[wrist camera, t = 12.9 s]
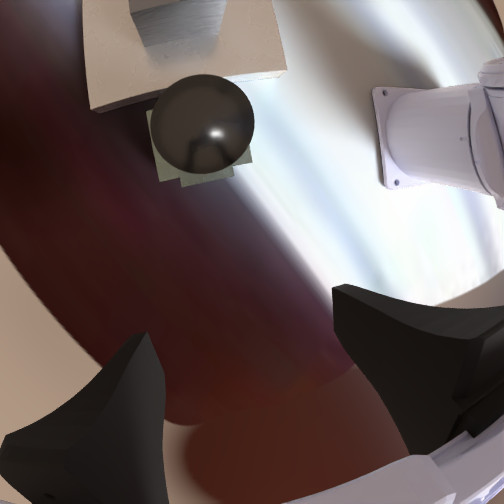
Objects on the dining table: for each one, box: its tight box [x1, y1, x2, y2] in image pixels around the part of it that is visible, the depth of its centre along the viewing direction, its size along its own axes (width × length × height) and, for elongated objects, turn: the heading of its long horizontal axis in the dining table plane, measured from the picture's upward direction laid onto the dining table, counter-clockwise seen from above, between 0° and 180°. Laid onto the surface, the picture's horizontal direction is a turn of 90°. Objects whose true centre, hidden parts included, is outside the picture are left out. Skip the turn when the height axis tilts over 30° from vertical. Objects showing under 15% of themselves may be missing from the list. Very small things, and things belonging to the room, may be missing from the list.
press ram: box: [150, 74, 254, 174], centre depth 12 cm, size 3×3×8 cm
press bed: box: [83, 0, 287, 187], centre depth 14 cm, size 12×16×5 cm
